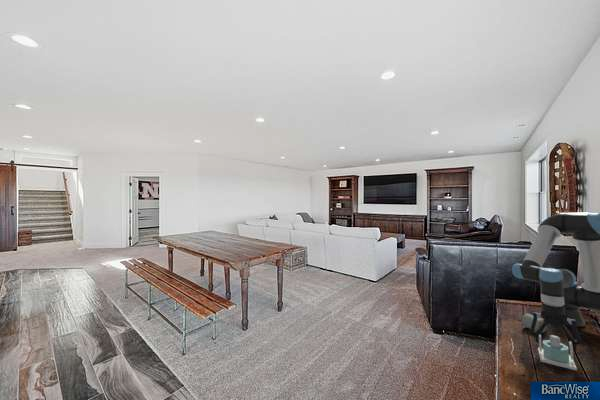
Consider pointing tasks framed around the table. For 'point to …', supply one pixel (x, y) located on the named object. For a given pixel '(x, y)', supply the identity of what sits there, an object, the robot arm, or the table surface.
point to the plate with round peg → (570, 364)
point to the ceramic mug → (528, 321)
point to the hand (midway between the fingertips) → (555, 353)
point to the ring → (556, 351)
